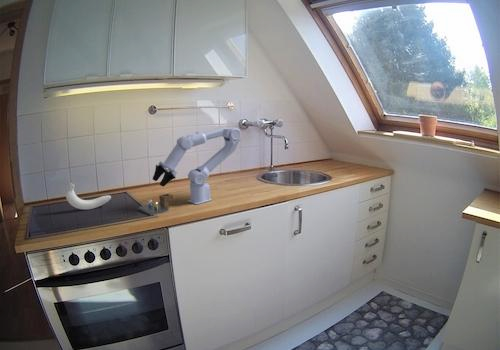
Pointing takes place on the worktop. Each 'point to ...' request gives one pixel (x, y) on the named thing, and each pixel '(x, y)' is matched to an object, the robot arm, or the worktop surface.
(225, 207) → the worktop surface
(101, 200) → the banana
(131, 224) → the worktop surface
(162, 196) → the hollow block
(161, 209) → the pin plate
